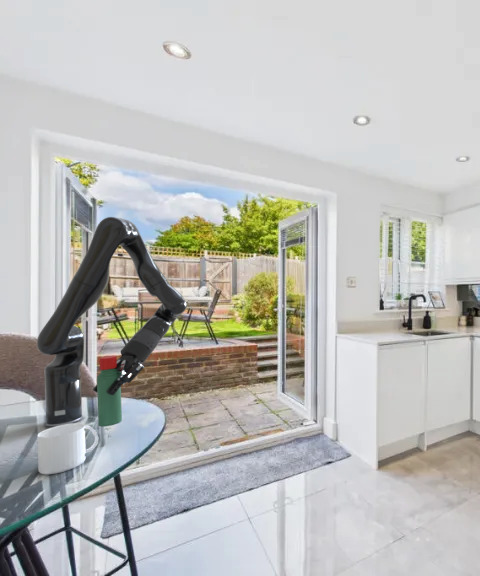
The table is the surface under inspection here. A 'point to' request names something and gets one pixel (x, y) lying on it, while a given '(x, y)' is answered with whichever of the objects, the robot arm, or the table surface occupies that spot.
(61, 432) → the mug
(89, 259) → the robot arm
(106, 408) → the bottle
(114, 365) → the cap
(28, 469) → the table surface
